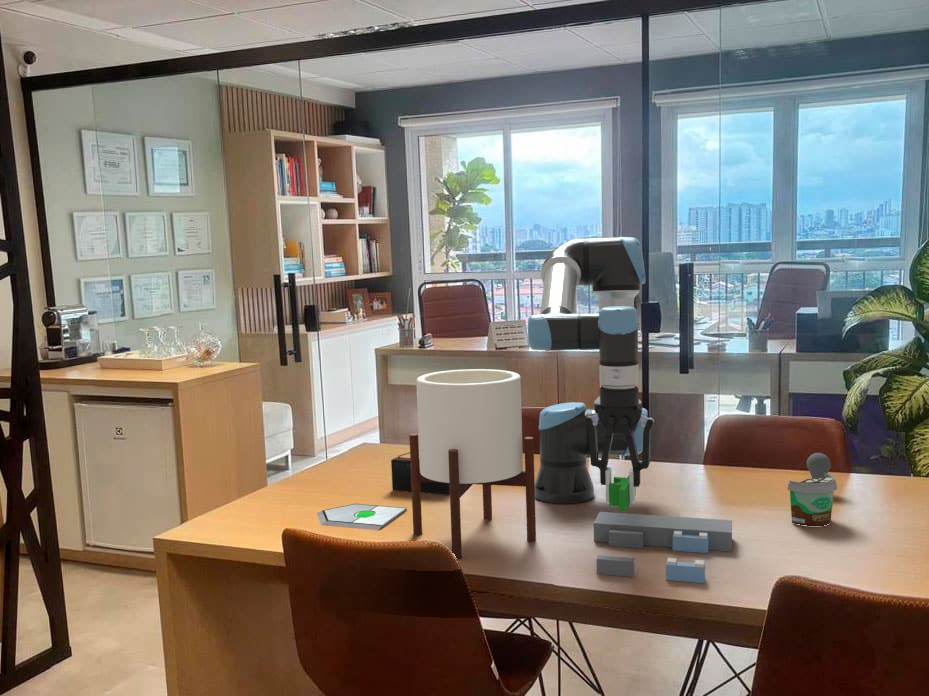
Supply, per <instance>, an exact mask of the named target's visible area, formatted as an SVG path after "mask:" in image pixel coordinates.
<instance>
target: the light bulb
mask: <svg viewBox="0 0 929 696" xmlns="http://www.w3.org/2000/svg"><path fill="white" fill-rule="evenodd" d="M806 467H807V469H808V471H809V474H810V475H811V479H817V478H821V477H824V474H825V473H827V474H829V471H830V470H831V467H832V463H831V459H830V458H829V457H828V456H827V455H826V454H824V453H822V452H815V453H813V454H812V453H811V454H810V456H808V457H807V460H806Z"/></svg>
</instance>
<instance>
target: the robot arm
mask: <svg viewBox="0 0 929 696" xmlns="http://www.w3.org/2000/svg"><path fill="white" fill-rule="evenodd" d="M542 263H543V264H542V266H541V272H540V277H541V281H542V283H543V289H542V296H541V303H540V310H539V313H537V314H532V315H530V316H529V317H528V319H527V320H528V321H527V341H528V347H529V348H530V349H531V350H533V351H545V352H550V351H575V350H576V351H579V350H582V351H583V350H585V351H586V350H591V351H592V350H593V351H595V350H597V351H598V350H599V351H598V353H599V367H598V368H599V371H598V372H599V374H598V375H599V396H598V397H597V398H595V400H593V401H594V402H593V405H594V407H593V408H587V406H586V404H585V403H584V402H578V401H577V402H574V401H573V402H572V401H570V402H563V403H559V404H558V403H557V404H554V405H553V404H552V405H550V406H547V407H545V408H543V409H542V410H541V411H540V413H539V425H538V430H539V469H538V472H537V476H536V478H535V479H536V480H535V499H537V500H539V501H542V502H546V503H549V504H561V505H562V504H578V503H583V502H586V501H589V500H591V499H592V498H594V497H595V496H594V495H595V487H594V483H593V481H592V477H591V475H590V472H589V469H588V466H587V456H589V458H590V465H591V466H592V467H596V468H598V469H599V476H600V477H599V478H600V479H599V481H600V485H601V486H605V503H606V504H607V503H608V504H609V483H613V482H612V466H609V458H610V456H621V457H626V456H629V457H630V462H631V466H632V467H631V468H630V469H629V472H628V476H629V494H630V505H634V504H635V502H636V496H635V487H636V488H639V487H640V484H641V470H644V469H645V470H646V469H648V468H649V466H650V464H651V463H650V462H651V433H652V428H653V425H654V423H655V419H654V417H652V416H650V417H648V410H647V409H646V408H644V407H642V401H641V399H640V398H639V395H640V394H639V391H640V390H639V387H638V386H637V385H638V384H639V360H638V359H639V355H638V354H639V323H640V322H639V319H638V311H637V309H636V308H635V307H634V306H635V303H634V302H635V297H636V296H637V295H638V294H639V293H640V292H641V287H640V285H645V283H646V282H647V281H646V277H647V276H646V269H645V262H644V255H643V250H642V245H641V242H640V241H639V239H638V238H636V237H631V236H629V237H627V236H616V237H615V236H614V237H597V238H596V237H595V238H594V237H593V238H590V237H589V238H575V239H571V240H569V241H566V242H564V243H562V244H560V245H559V246H557V247H556V248H555V249H553V250H552V251H551V252H550V253H549V254H548V256H546V258H545V259H544V261H543V262H542ZM578 286H592V287H591V288H592V289H591V292H592V294H593V296H595V297H596V298H597V299H598V300H597V301H598V312H596V313H594V312H593V313H576V297H577V287H578ZM641 453H642V457H641V458H642V459H641V461H640V457H639V456H640V454H641ZM599 456H601V457H600V458H599ZM608 466H609V467H608Z"/></svg>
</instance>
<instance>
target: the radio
mask: <svg viewBox="0 0 929 696" xmlns="http://www.w3.org/2000/svg"><path fill="white" fill-rule="evenodd" d="M406 455H410V451H409V452H406V453H402V454H400V455H398V456H396V457H394V458H393V459H391V460H390V461H391V462H390V463H391V464H390V465H391V466H390V467H391V485H392V487H391V488H392V489H391V490H392V491H393V490H394V491H395V492H404V491H408V492H407V493H412V487H411V463H410V457H404V456H406ZM402 456H403V457H402ZM419 467H420V461H419ZM394 491H393V492H394ZM420 491H421V494H428V493H430V495H440V494H441V496H442V495H443V496H450V484H449V483H435V482H420Z"/></svg>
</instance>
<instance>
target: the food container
mask: <svg viewBox="0 0 929 696" xmlns="http://www.w3.org/2000/svg"><path fill="white" fill-rule="evenodd" d="M835 478H836V477H834V475H832V474H830V473H825V474H824V477H821V478H817V479H812V478H806V479H803V480H802V481H800V482H799V481H795V480H794V481H793V480H789V481H788V484H787V485H788V486H787V490H788V491H789V497H790V514H791V524H792V523H795V524H800V525H807V526H823V527H825V526H824V525H827V524H829V523H830V522H832V521H831V520H832V514H833V513H832V512H833V502H834V492H835V491H837V489H838V485H837V481H836V479H835ZM795 524H794V525H795ZM830 524H831V523H830ZM830 524H829V525H830ZM827 526H828V525H827Z"/></svg>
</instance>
